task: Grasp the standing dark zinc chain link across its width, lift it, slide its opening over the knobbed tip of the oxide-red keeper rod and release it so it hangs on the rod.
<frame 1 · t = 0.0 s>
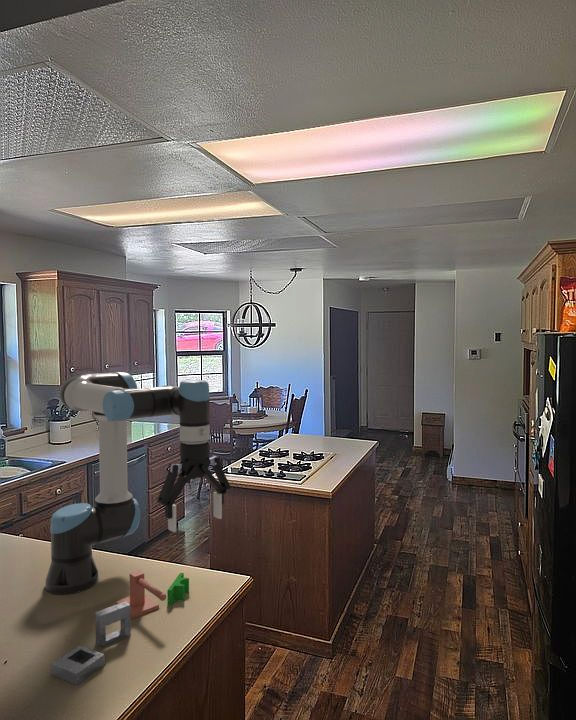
hand: (195, 523, 133), 28 cm above the counter, fingers open, 13 cm apart
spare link: (78, 669, 118), on the counter
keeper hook: (137, 606, 146), on the counter
pipe clamp: (179, 597, 152), on the counter
link: (113, 639, 130), on the counter
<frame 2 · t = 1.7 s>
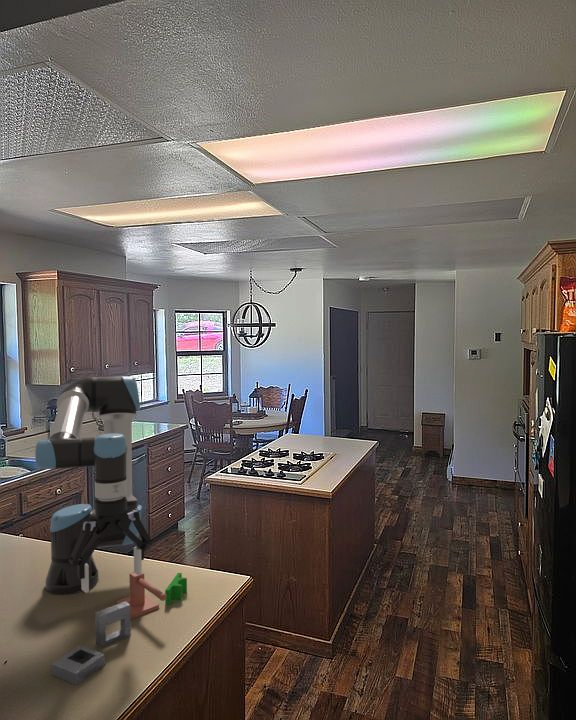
hand: (112, 581, 129), 15 cm above the counter, fingers open, 13 cm apart
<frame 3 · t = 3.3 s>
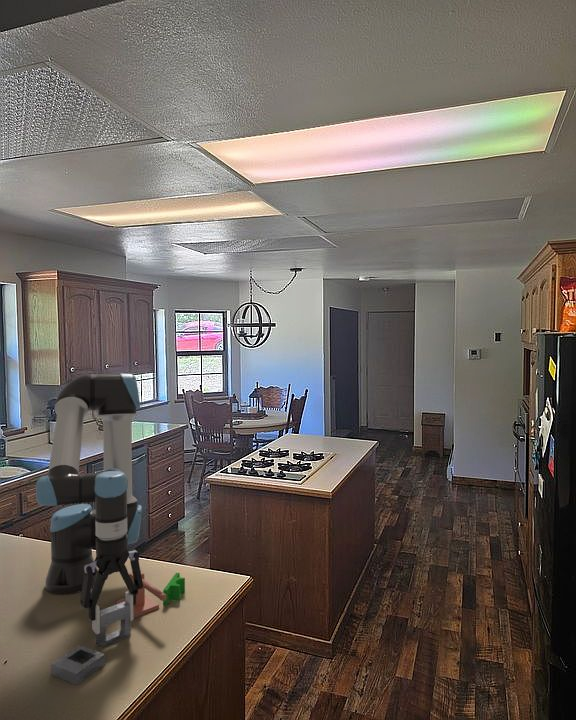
hand: (113, 624, 130), 4 cm above the counter, fingers closed on link, 8 cm apart
link: (113, 639, 130), on the counter, touching gripper
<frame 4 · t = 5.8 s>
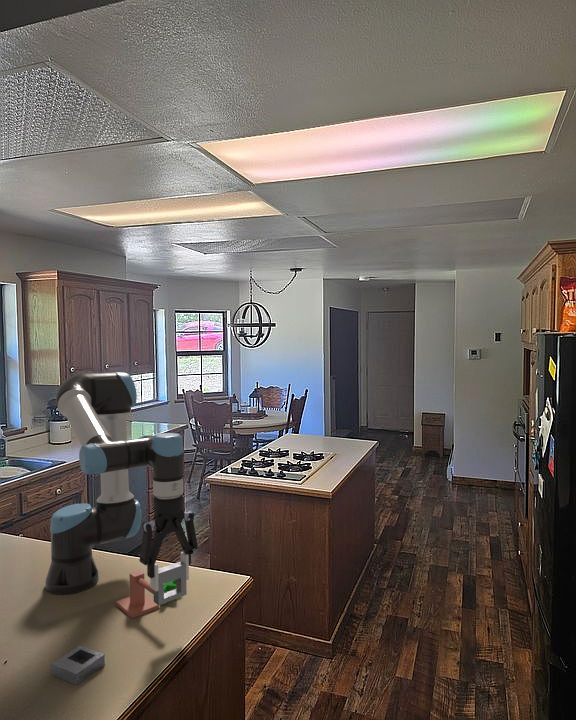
hand: (170, 583, 132), 13 cm above the counter, fingers closed on link, 8 cm apart
link: (170, 598, 132), point 9 cm above the counter, touching gripper
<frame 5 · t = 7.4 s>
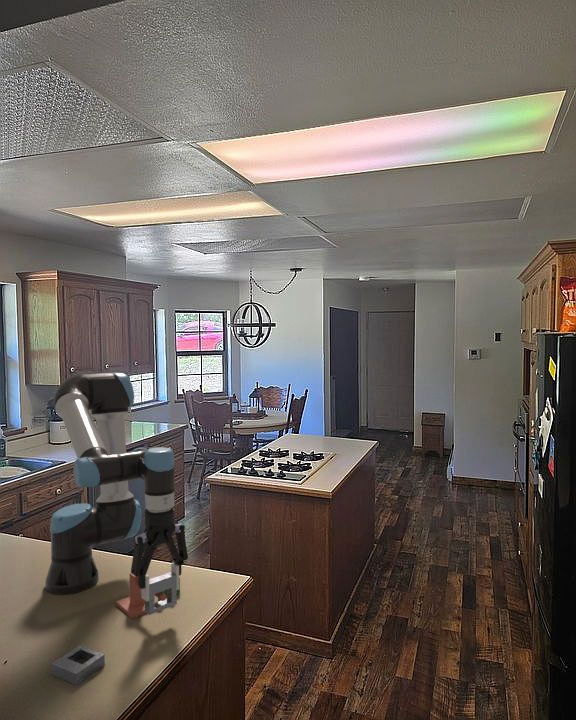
hand: (160, 593, 136), 8 cm above the counter, fingers closed on link, 8 cm apart
link: (160, 607, 136), point 5 cm above the counter, touching gripper
when the fingers open (9 cm above the counter, at t = 8.5 s): link drops 1 cm, resting on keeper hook.
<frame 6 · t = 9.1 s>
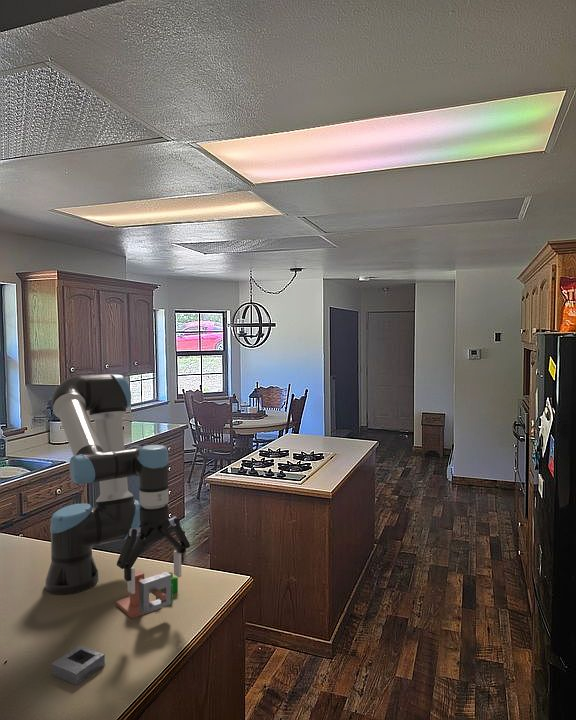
hand: (155, 583, 138), 10 cm above the counter, fingers open, 13 cm apart
link: (155, 607, 138), point 4 cm above the counter, touching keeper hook
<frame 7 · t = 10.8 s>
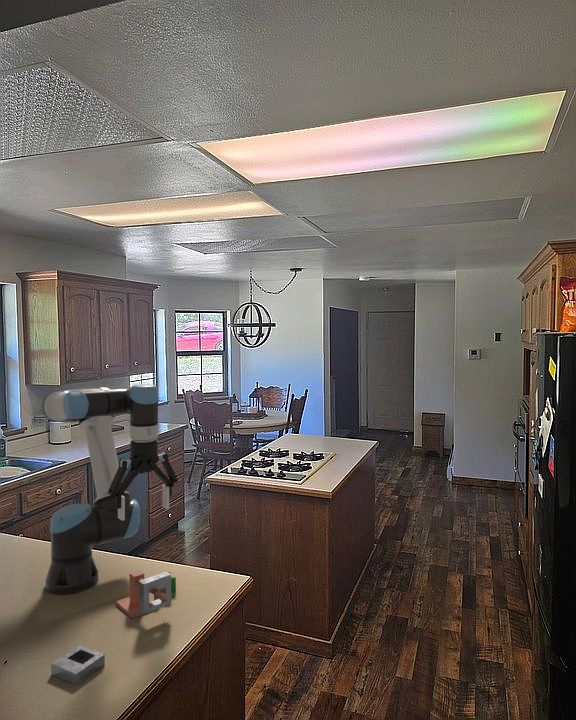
hand: (144, 513, 147), 26 cm above the counter, fingers open, 13 cm apart
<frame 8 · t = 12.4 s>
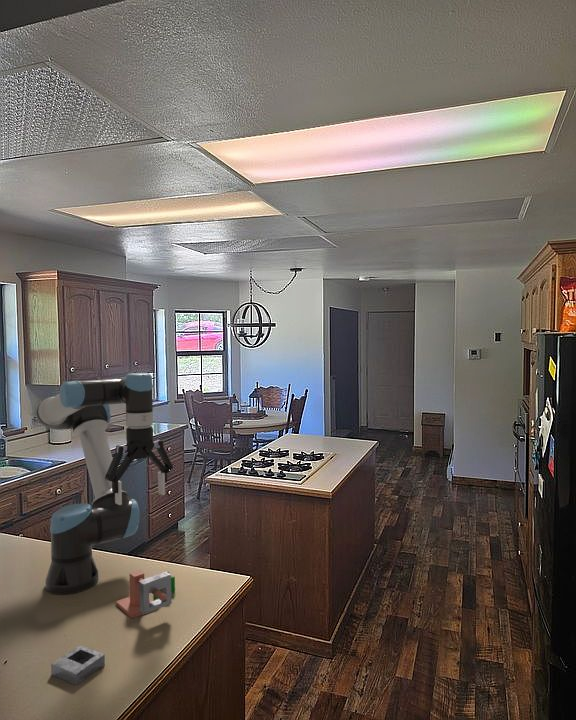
hand: (140, 498, 152), 29 cm above the counter, fingers open, 13 cm apart
at the end: link inside the target area (1.3 cm from its centre), point 3.8 cm above the counter; link touching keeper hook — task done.
